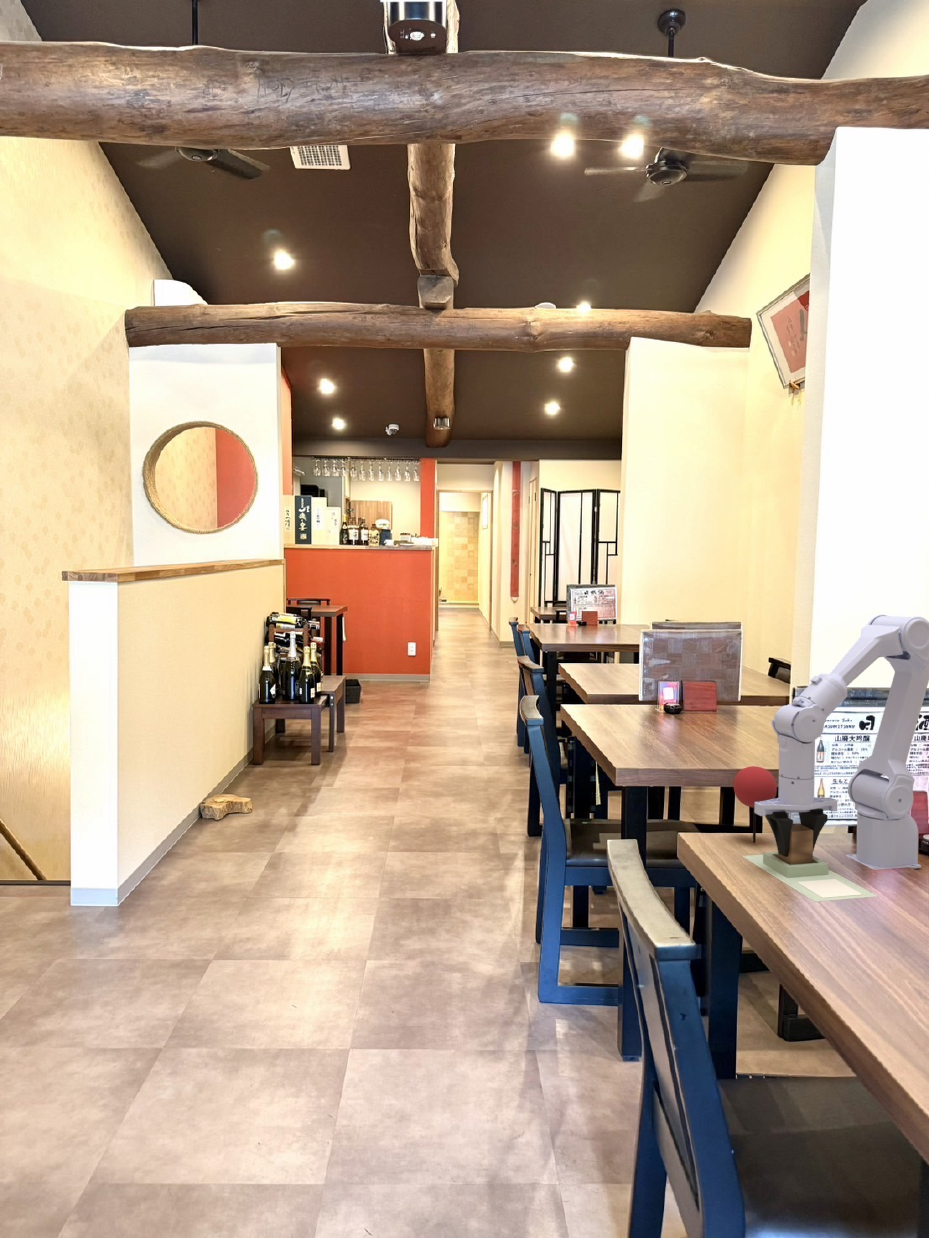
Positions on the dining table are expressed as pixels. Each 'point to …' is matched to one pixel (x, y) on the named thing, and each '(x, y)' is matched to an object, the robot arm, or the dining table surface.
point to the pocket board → (810, 878)
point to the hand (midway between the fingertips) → (795, 853)
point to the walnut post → (799, 846)
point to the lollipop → (754, 788)
